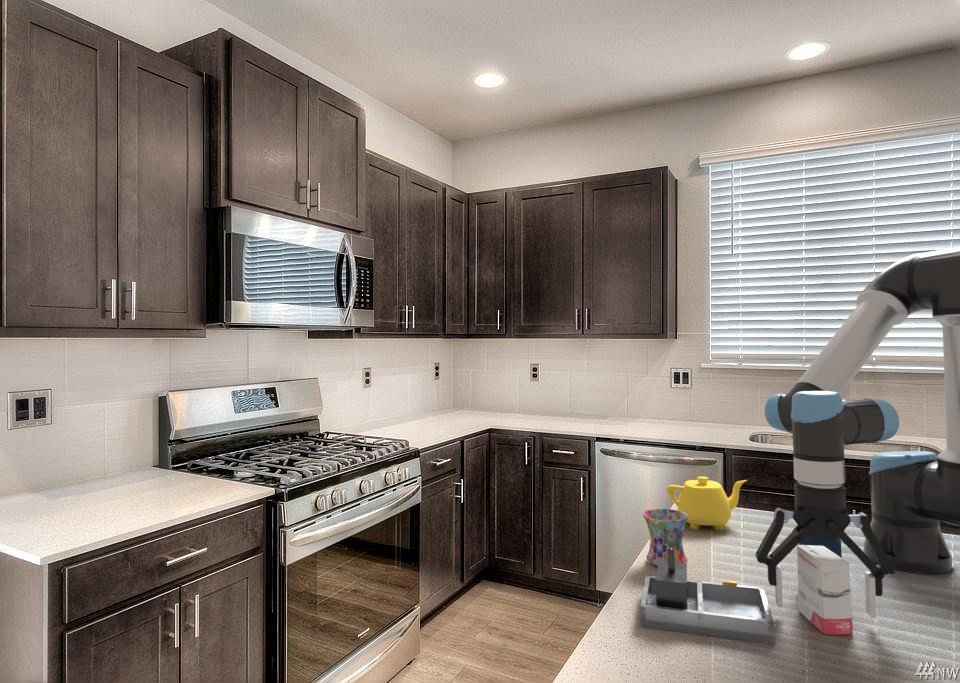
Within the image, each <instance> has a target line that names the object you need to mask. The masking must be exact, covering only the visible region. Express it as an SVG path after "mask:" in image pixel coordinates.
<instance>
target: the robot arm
mask: <svg viewBox="0 0 960 683" xmlns="http://www.w3.org/2000/svg"><path fill="white" fill-rule="evenodd" d="M855 303H856V307H855V308H854V309H853V311H852V312H851V313H850V314H849V316H848V317H847V318H846V320H845V321H844V322H843V324H842V325H841V326H840V327H839V329H838V330H837V331H836V332H835V333H834V335H833V336H832V337H831V339H830V340H829V341H828V343H827V344H826V345H825V346H824V347H823V349H822V350H821V351H820V352H819V354H818V355H817V357H816V358H815V359H814V360H813V362H812V363H811V364H810V365H809V366H808V367H807V369H806V371H804V373H803V374H802V375H801V377H799V379H798V381H797V382H796V383H795V384H794V385H793V387H792V388H791V389H790V391H789V392H788V393H786V392H781V393H776V394H774V395H771V396H770V397H769V398H768V399H767V401H766V403H765V405H764V416H765V417H764V418H765V420H766V422H767V423H768V425H769V426H770V427H771V428H773V429H775V430H777V431H781V432H786V433H789V434H791V435H792V449H793V452H792V454H793V478H794V480H795V481H796V482H795V483H794V485H793V486H794V491H793V492H794V509H793V510H786V509H782V508H781V507H779V506H777V507H775V508H774V512H773V514H774V516H773V520H772V522H771V523H770V526H769V528H768V530H767V531H766V533H765V535H764V537H763V538H762V541H761V543H760V544H759V546H758V548H757V550H756V552H755V558H756V560H757V562H758V563H760V564H764V565H766V566H767V581H768V583H769V585H770V586H774V589H775V590H774V593H775V596H774V597H775V604H776V606H777V608H781V609H782V608H784V604H783V580H782V578H783V576H782V568H781V565H780V563H781V562H782V561H783V560H784V559H785V558H786V557H787V556H788V555H789V554H790V553H791V552H792V551H793V550H794V549H795V548H797V546H798V545H799V543H800V542H801V541H803V540H804V539H805V538H806V537H807V536H808V537H810V538H812V539H817V540H818V539H825V540H830V541H833V540H834V539H836V538H838V537H839V538H840V540H841V542H842V543H844V544H845V546H847V548H848V549H849V550H850V551H851V552H852V553H853V554H854V556H856V557H857V558H858V559H859V560H860V562H862V563H863V565H864V566H865V567H866V568H867V569H868V570H869V571H864V586H865V589H864V590H865V607H866V608H865V609H866V612H867V613H868V615H869V616H870V618H872V619H877V601H876V600H877V597H882V595H883V594H884V593H883V591H884V590H883V579H884V578H885V576H887V575H891V576H892V575H895V574H896V573H897V571H902V572H906V573H913V574H924V575H927V574H928V575H929V574H930V575H939V574H946V573H949V572H951V571H952V570H953V558H952V554H951V552H950V549H949V547H948V544H947V543H946V540H945V537H944V534H943V533H942V530H941V526H940V523H941V522H943V523H947V524H951V525H953V526H959V527H960V246H957V247H953V248H950V247H949V248H947V249H946V248H944V249H940V250H934V251H928V252H920V253H914V254H912V255H908V256H905V257H904V258H902V259H900V260H898V261H896V262H894V263H893V264H891V265H889V267H887V268H886V269H884V270H883V271H882V272H880V273H879V274H878V275H876V276H875V277H874V278H873V280H872V281H870V282H869V283H868V284H867V286H865V287H864V289H863V290H862V291H861V293H860V294H859V295H858V296H857V298H856V300H855ZM922 310H923V311H925V310H931V311H932V314H931V315H932V319H934V320H935V321H936V322H937V323H939V324H940V325H941V326H942V348H943V349H942V350H943V351H942V352H943V375H944V379H943V380H944V406H945V431H946V432H945V433H946V434H945V437H946V439H945V441H946V448H945V449H944V450H942V451H941V452H940V453H938V454H937V453H935V452H934V451H933V452H932V451H927V450H926V451H923V450H901V451H900V450H898V451H897V450H896V451H883V452H878V453H875V454H873V455H872V456H871V458H870V465H869V471H868V474H869V481H870V482H869V484H870V500H871V504H870V505H871V520H870V517H869V516H868V515H867V514H865V512H863V511H859V512H858V513H857V514H855V513H854V514H853V513H852V514H849V513H848V510H847V488H846V486H844V484H845V483H846V468H845V464H846V462H845V446H849V445H860V444H869V443H872V444H876V443H879V442H882V441H887V440H889V439H892V438H893V437H894V436H895V435H896V434H897V432H898V431H899V428H900V416H899V414H898V412H897V410H896V408H894V406H893V405H892V404H891V403H890V402H888V401H887V400H884V399H881V398H880V399H879V398H867V397H865V398H862V399H853V398H851V399H850V398H843V396H842V394H843V393H844V391H845V390H846V388H847V387H848V386H849V384H850V383H851V382H852V380H853V379H855V376H857V374H858V373H859V372H860V370H861V369H862V368H863V367H864V365H865V364H866V362H867V361H868V360H869V359H870V357H871V356H872V355H873V353H874V352H875V351H876V350H877V348H878V347H879V345H880V344H881V343H882V342H883V340H884V339H885V337H887V335H888V334H889V332H890V331H891V330H892V329H893V327H894V326H898V325H900V324H902V323H904V322H905V321H906V320H907V318H908V317H909V316H910V315H912V314H913V313H916V312H919V311H922ZM790 520H794V521H795V523H796V524H797V525H796V526H794V528H793V529H792V532H791V533H789V535H788V536H786V538H784V540H782V541H781V543H780V544H778V545H777V547H776V548H775V549H774V550H773V551H772V552H771V550H772V548H773V546H774V545H775V542H776V541H777V539H778V537H779V535H780V533H781V531H782V529H783V528H784V525H785V524H788V523H789V521H790ZM851 523H853V525H854V526H855V527H856V528H857V529H860V531H861V533H862V534H863V536H864V542H863V550H862V548H860V547H859V545H858V544H856V542H855V541H854V540H853V539H852V538H851V537H850V536H849V535H848V533H846V532H845V530H846V529H847V528H848V526H849V525H850V524H851ZM770 552H771V553H770ZM896 570H897V571H896Z"/></svg>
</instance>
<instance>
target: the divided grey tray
mask: <svg viewBox="0 0 960 683" xmlns="http://www.w3.org/2000/svg"><path fill="white" fill-rule="evenodd" d="M667 554H668V562H660V561H658V566H656V567H657V568H656V576H655V575H645V579H644V583H643V591H642V596H641V601H640V627H641V628H647V629H655V630H662V631H670V632H679V633H685V634H694V635H700V636H707V635H708V636H709V637H716V638H723V639H732V640H739V641H746V642H753V643H754V641H755V643H760V642H767V643H766V644H768V643H773V644H772V645H776V639H775V638H776V637H775V622H774V618H773V616H772V612H771V608H770V605H769V601H768V598H767V594H766V592H765V588H764V587H762V586H752V585H751V586H750V585H742V584H738V582H737V580H725V579H722V580H721V582H714V581H713V582H711V581H705V580H704V581H702V580H694V579H693V580H692V579H688V568H687V567H688V565H687V563H686V564H682V563H675V553H674V549H673V548H669V549H668V550H667Z"/></svg>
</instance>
